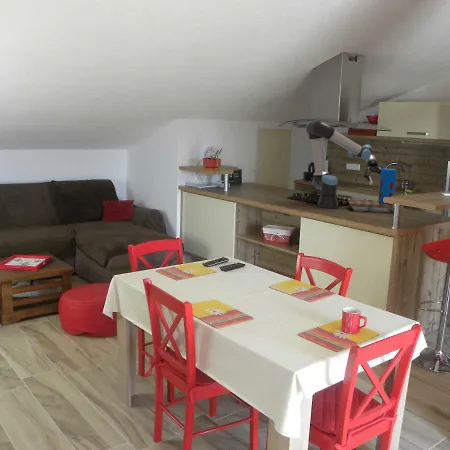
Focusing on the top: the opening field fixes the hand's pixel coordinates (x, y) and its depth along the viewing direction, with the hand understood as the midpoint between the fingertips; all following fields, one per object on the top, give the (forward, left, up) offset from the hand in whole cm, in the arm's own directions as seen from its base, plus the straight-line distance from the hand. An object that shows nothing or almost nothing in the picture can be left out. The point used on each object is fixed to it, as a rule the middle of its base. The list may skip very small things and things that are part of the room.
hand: (379, 184), depth 380 cm
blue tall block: (+4, -9, -13) cm, 16 cm away
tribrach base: (-7, -9, -18) cm, 22 cm away
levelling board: (-7, -9, -13) cm, 18 cm away
